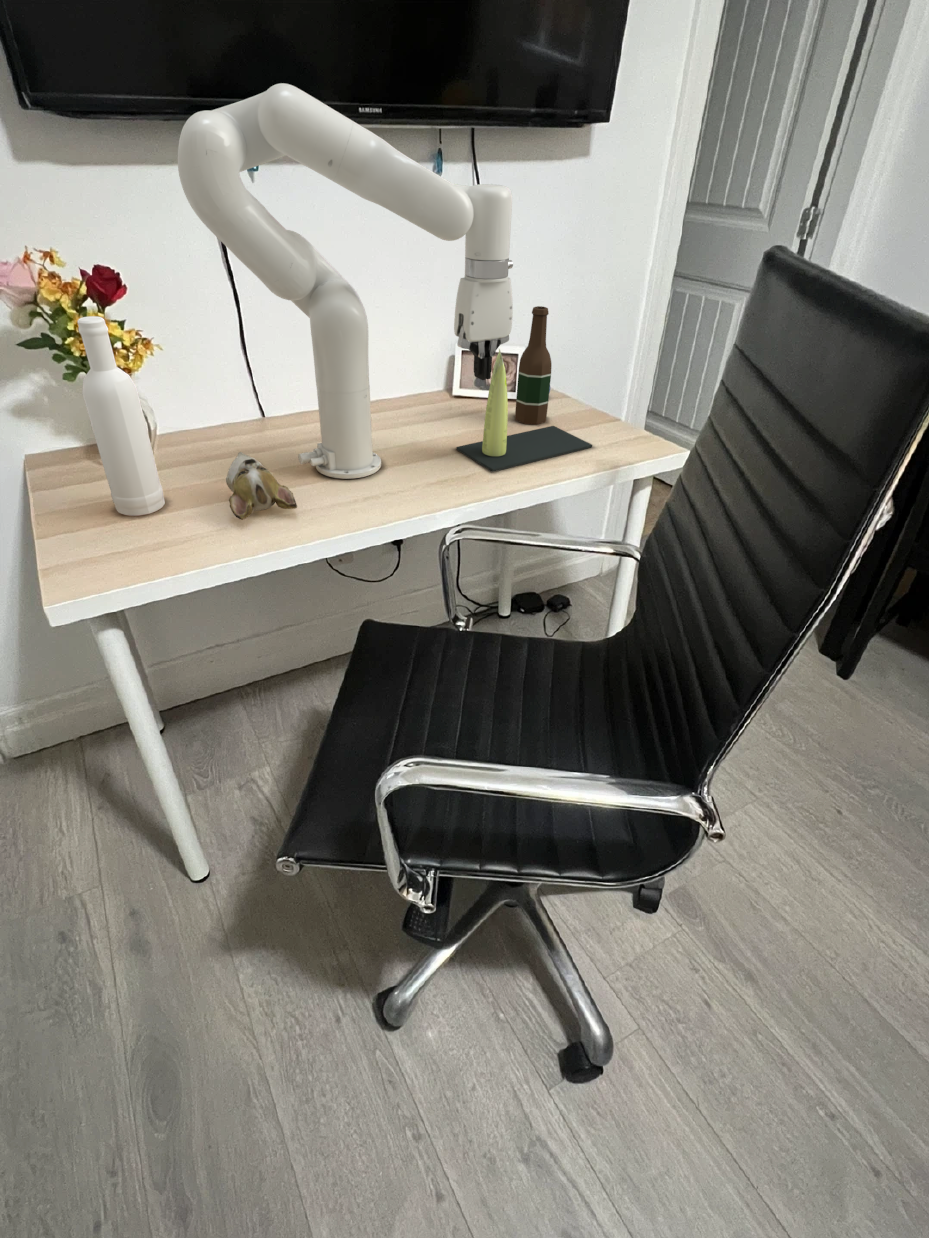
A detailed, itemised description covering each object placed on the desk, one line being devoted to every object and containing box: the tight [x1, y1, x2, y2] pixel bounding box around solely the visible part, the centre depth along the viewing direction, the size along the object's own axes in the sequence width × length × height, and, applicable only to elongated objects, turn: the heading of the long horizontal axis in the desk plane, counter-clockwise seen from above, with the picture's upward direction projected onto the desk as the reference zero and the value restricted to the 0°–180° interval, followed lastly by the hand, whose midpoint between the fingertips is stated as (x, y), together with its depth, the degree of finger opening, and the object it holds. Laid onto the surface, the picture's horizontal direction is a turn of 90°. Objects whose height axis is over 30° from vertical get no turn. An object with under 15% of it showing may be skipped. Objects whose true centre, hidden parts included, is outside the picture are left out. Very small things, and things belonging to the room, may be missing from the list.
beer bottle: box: [514, 305, 552, 426], centre depth 151 cm, size 8×8×24 cm
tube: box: [482, 348, 509, 457], centre depth 134 cm, size 6×5×20 cm
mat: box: [455, 425, 593, 473], centre depth 144 cm, size 26×13×1 cm, turn 124°
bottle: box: [76, 315, 166, 517], centre depth 108 cm, size 8×8×30 cm
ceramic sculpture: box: [225, 451, 298, 521], centre depth 116 cm, size 11×9×15 cm
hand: (482, 377), depth 129 cm, fingers closed
